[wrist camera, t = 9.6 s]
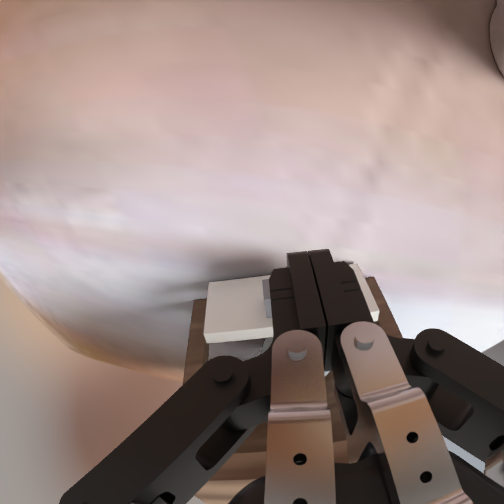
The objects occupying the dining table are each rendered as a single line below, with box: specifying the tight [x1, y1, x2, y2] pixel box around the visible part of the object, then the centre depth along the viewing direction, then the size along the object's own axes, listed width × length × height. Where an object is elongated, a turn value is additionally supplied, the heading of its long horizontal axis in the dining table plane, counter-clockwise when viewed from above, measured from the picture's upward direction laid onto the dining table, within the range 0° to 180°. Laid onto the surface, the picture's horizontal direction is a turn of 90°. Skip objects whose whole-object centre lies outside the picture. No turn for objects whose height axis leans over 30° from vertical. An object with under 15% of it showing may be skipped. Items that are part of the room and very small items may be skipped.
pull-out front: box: [204, 263, 379, 343], centre depth 27 cm, size 3×14×6 cm, turn 98°
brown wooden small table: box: [183, 277, 403, 504], centre depth 27 cm, size 12×18×18 cm, turn 97°
